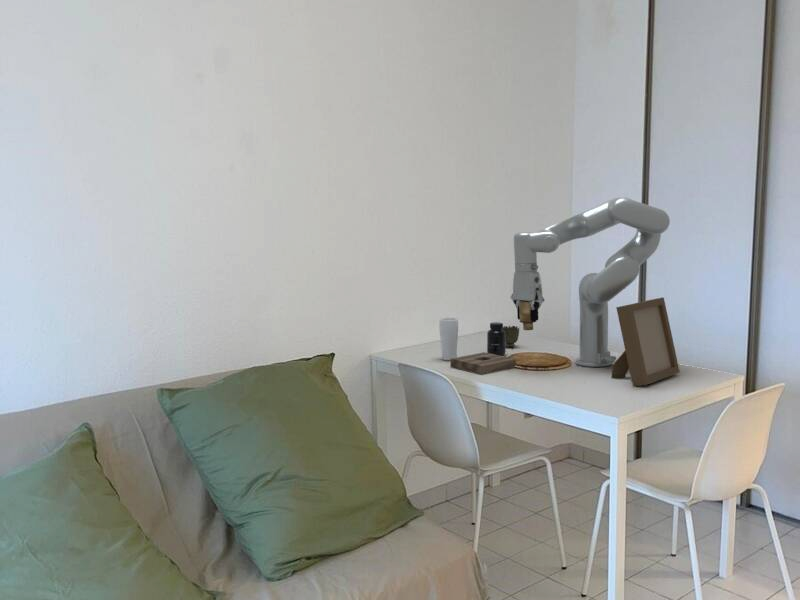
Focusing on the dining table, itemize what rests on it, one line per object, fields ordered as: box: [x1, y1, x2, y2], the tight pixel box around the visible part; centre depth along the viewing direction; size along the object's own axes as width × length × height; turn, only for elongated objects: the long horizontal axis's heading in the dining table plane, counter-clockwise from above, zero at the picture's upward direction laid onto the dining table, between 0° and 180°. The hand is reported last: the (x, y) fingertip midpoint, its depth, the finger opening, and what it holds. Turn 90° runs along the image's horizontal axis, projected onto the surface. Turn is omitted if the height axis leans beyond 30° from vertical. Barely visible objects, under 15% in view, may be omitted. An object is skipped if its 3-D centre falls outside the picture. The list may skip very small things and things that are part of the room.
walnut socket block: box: [449, 351, 517, 376], centre depth 264 cm, size 16×16×3 cm
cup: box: [502, 325, 520, 349], centre depth 298 cm, size 8×7×8 cm
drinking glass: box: [439, 317, 459, 361], centre depth 277 cm, size 7×7×15 cm
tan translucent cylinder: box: [519, 301, 537, 331], centre depth 264 cm, size 6×6×10 cm
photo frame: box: [611, 297, 681, 387], centre depth 241 cm, size 15×22×25 cm
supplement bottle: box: [486, 321, 507, 357], centre depth 283 cm, size 7×7×12 cm
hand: (527, 319), depth 265 cm, fingers closed on tan translucent cylinder, 5 cm apart
